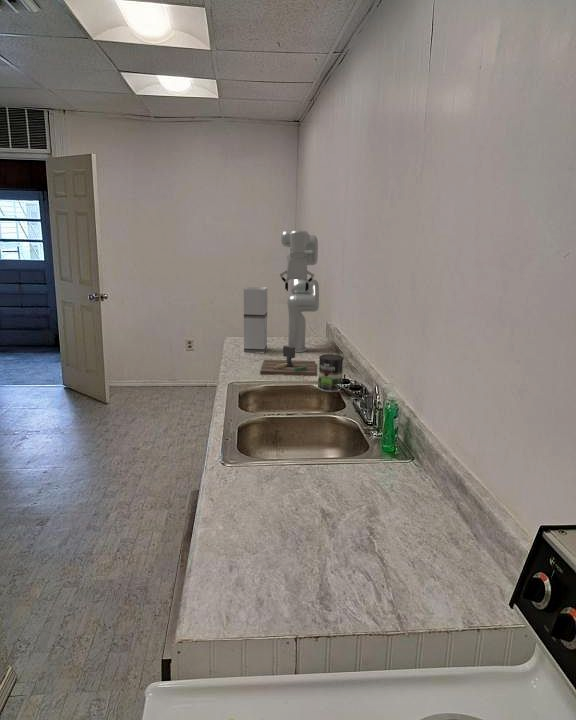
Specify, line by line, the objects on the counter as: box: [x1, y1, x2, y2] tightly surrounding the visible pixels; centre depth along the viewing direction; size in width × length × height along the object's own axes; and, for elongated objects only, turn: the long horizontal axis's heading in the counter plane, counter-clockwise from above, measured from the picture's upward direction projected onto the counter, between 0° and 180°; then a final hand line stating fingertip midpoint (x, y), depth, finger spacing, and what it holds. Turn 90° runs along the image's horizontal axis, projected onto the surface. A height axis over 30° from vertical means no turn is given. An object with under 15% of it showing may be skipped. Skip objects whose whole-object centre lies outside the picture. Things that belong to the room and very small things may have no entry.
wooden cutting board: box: [260, 359, 317, 377], centre depth 251 cm, size 22×26×3 cm
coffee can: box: [317, 353, 345, 393], centre depth 219 cm, size 10×10×14 cm
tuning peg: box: [276, 345, 296, 368], centre depth 247 cm, size 11×6×9 cm, turn 138°
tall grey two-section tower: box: [243, 286, 268, 353], centre depth 285 cm, size 11×11×35 cm
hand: (296, 290), depth 258 cm, fingers open, 9 cm apart
